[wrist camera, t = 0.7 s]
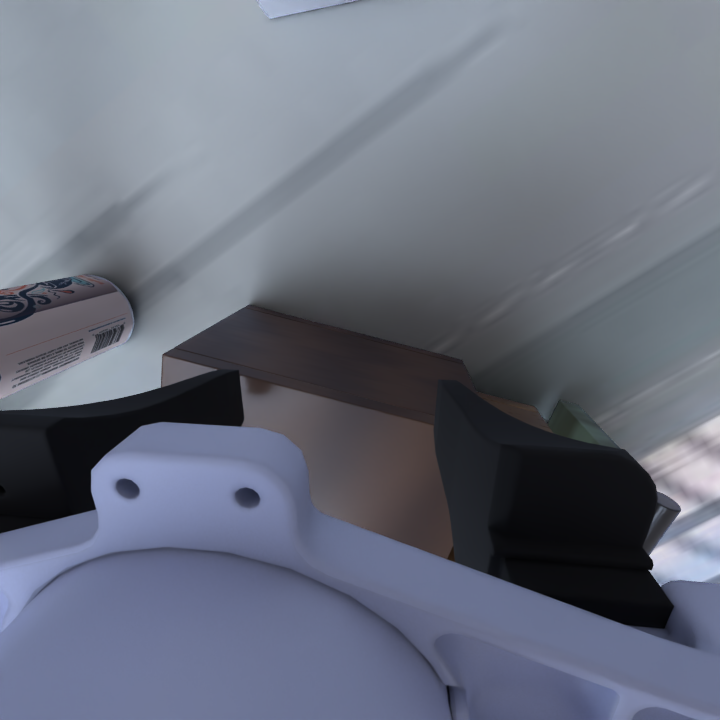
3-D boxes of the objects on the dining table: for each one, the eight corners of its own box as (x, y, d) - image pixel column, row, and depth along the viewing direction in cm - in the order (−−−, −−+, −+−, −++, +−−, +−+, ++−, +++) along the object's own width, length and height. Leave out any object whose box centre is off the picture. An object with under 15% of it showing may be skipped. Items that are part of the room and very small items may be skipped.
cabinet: (462, 359, 23) (500, 441, 15) (405, 514, 28) (409, 645, 19) (248, 304, 23) (161, 354, 15) (227, 467, 28) (151, 577, 19)
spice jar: (113, 262, 23) (-156, 304, 12) (153, 333, 24) (-55, 431, 13) (53, 287, 24) (-249, 348, 13) (94, 354, 25) (-145, 462, 14)
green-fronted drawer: (652, 423, 22) (763, 512, 16) (569, 559, 27) (628, 676, 20) (375, 351, 22) (366, 409, 16) (335, 498, 27) (314, 594, 20)
